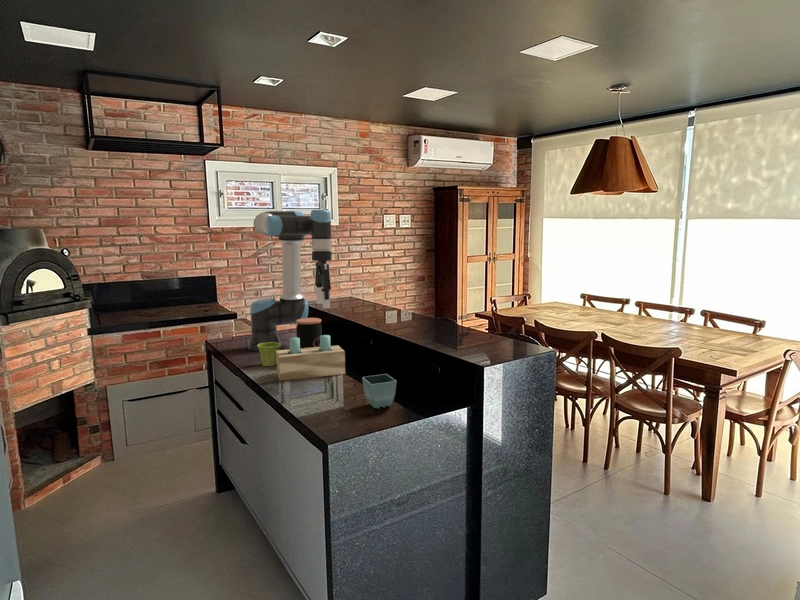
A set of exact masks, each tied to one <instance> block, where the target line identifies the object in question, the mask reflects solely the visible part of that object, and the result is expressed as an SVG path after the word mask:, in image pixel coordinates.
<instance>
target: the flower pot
mask: <svg viewBox="0 0 800 600" xmlns="http://www.w3.org/2000/svg"><path fill="white" fill-rule="evenodd" d="M361 378H362V379H361V381H362V386H363V392H364V395H365V398H366V400H367V402H368V403H369V404H370V406H372V407H373V409H375V408H377V409H381V408H380V407H383V408H387V407H386V406H389V407H390V406H391V405H392V403H393V401H394V399H395V395H396V389H397V382H398V381H397V380H396V379H394V378H393V377H392V376H390V375H389V374H388V373H384V374H382V373H381V374H376V375H367V376H363V377H361Z"/></svg>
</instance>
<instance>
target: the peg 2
mask: <svg viewBox="0 0 800 600" xmlns="http://www.w3.org/2000/svg"><path fill="white" fill-rule="evenodd" d="M330 346H331V335H329V334H322V336H320V352H323V351H331V347H330Z"/></svg>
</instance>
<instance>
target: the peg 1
mask: <svg viewBox="0 0 800 600" xmlns="http://www.w3.org/2000/svg"><path fill="white" fill-rule="evenodd" d="M288 341H289V343H288V344H289V346H288V347H289V349H288V350H290V354H300V338H298V337H297V336H295V337H289V339H288Z"/></svg>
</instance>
